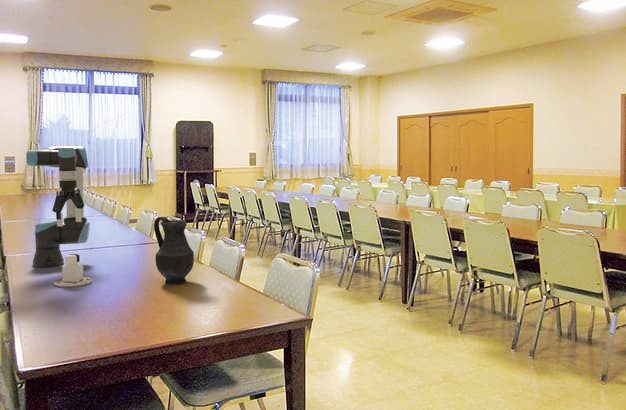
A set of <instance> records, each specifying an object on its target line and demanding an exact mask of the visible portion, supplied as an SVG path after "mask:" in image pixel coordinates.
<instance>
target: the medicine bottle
mask: <svg viewBox="0 0 626 410" xmlns="http://www.w3.org/2000/svg"><path fill="white" fill-rule="evenodd" d="M83 277H84V264H83V263H81V261H80V254H77V253H68V254H66V255H65V256H64V264H63V266H61V279H62V282H79V281H80V280H82V279H83Z"/></svg>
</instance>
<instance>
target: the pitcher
mask: <svg viewBox="0 0 626 410" xmlns="http://www.w3.org/2000/svg"><path fill="white" fill-rule="evenodd" d="M187 224H188V223H187V220H183V219H182V220H181V219H179V220H177V219H173V220H172V219H169V218H167V217H166V216H158V217H156V218H155V220H154V223H153V230H154V234H155V237H156V241H157V244H158V247H159V249H158V251H157V252H156V253H155V266H156V269H157V271H158V272H159V274H160V275H161V276H162V277H163V278H165V281H164V283H165V284H167V285H181V284H186V282H187V279H186V277H187V276H188V275H189V274H190V273H191V271H192V270H193V267H194V264H195V252H194V250H193V249H192V248H191V247H190V245H189V243H188V242H189V241H188V240H187V236H186V234H185V230H186V227H187ZM160 225H161V227H162V229H163V233H164V234H163V235H164V237H163V236H162V232H161V229H160Z"/></svg>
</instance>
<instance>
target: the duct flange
mask: <svg viewBox="0 0 626 410" xmlns="http://www.w3.org/2000/svg"><path fill="white" fill-rule="evenodd" d="M92 283H93V279H92V278H91V277H88V276H83V279H82V280H80V281H79V282H62V278H58V279H57V280H54V281H53V286H54V287H58V288H77V287H83V286H87V285H90V284H92Z"/></svg>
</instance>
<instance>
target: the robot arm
mask: <svg viewBox="0 0 626 410" xmlns="http://www.w3.org/2000/svg"><path fill="white" fill-rule="evenodd" d="M25 155H26V157H25V158H26V164H27V166H29V167H30V166H31V167H40V166H41V167H50V168H57V169H58V179H59V183H58V184H59V188H60V189H61V190H57V191H56V193H55V194H56V195H55V200H54V203H53V206H52V212H53V213H55V219H52V220H51V219H50V220H45V221H40V222H37V223H36V224H35V225H34V236H35V240H34V241H35V251H34V252H35V253H34V255H33V258H32V259H33V260H32V267H36V268H49V267H50V268H51V267H52V268H53V267H56V266H61V265H65V258H64V257H63V254H62V251H61V247H60V246H61V245H75V244H77V245H79V244H85V243H87V242H88V240H89V235H90V226H91V225H90V221H88V219H87V217H86V216H85V214H84V212H85V210H84V207H85V203H84V174H85V172H86V171H87V168H89V161H88V160H89V159H88V156H87V155H88V154H87V149H86V148H85V147H84V146H78V145H76V146H75V145H74V146H71V145H70V146H67V145H66V146H61V145H60V146H58V145H57V146H49V147H48V146H47V147H45V148H44V147H43V148H41V149H40V150H39V149H38V150H37V149H36V150H35V149H31V150H27V151H26V154H25ZM65 205H66V208H65V209H66V216H65V217H63V216H64V215H63V212H62V211H63V209H64V206H65Z"/></svg>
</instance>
